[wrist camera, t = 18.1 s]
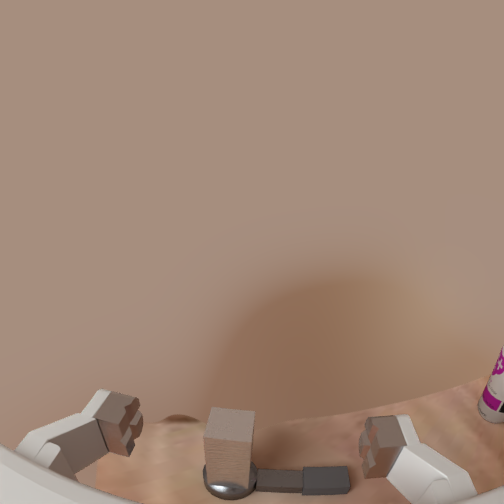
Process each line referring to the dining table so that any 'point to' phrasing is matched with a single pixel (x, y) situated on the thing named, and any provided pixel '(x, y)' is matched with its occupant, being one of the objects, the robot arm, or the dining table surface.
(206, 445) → the tall grey pillar block
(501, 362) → the supplement can
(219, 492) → the ratchet
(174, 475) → the dining table surface
